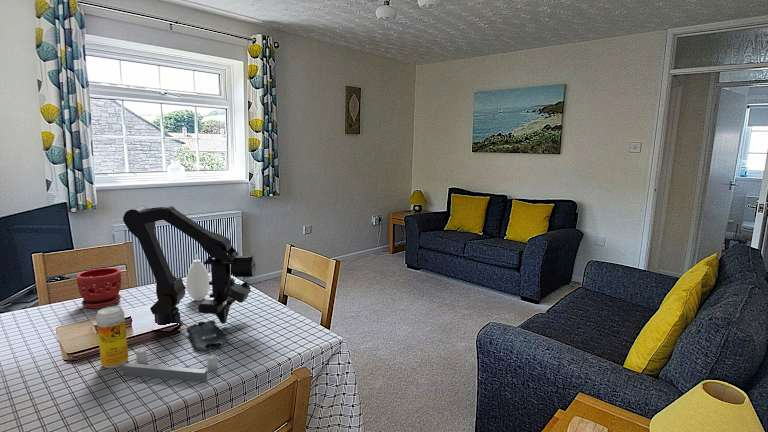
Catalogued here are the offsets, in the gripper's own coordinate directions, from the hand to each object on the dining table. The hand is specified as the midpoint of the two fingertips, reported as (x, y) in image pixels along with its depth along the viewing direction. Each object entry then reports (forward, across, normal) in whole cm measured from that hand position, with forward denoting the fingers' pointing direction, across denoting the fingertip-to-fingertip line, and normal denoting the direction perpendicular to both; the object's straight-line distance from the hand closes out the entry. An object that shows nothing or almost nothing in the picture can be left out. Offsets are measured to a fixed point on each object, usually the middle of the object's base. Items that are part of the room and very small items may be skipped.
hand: (223, 323), depth 132 cm
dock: (+1, -27, 0) cm, 27 cm away
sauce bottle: (+1, +20, +20) cm, 28 cm away
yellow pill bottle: (+1, -26, +17) cm, 31 cm away
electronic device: (+2, -10, 0) cm, 10 cm away
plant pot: (+1, +10, +52) cm, 53 cm away
